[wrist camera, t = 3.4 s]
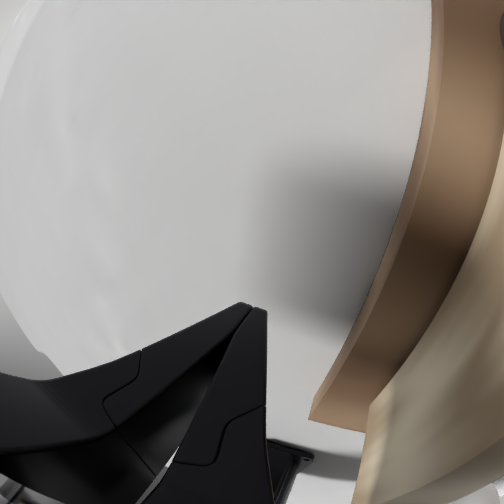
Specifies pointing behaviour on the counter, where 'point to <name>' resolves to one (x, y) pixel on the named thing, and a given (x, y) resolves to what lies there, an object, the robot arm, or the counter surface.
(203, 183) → the counter surface
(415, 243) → the wooden board
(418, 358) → the hinged leg
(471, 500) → the white smooth oval part
